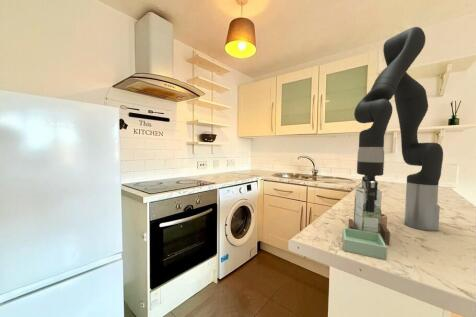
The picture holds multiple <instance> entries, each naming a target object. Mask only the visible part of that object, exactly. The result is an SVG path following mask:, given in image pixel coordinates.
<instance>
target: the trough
mask: <svg viewBox="0 0 476 317" xmlns="http://www.w3.org/2000/svg"><path fill="white" fill-rule="evenodd" d="M342 245H343V252H346V253H347V252H348V253H354V254H358V255H362V256H367V257H371V258H377V259H382V260H387V256H388V254H387V253H388V247H387V245H385V243H384V241H383V239H382V238H381V236H380V234H379V233H373V232H367V231H361V230H355V229H348V228H347V227H342Z"/></svg>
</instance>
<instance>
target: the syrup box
mask: <svg viewBox="0 0 476 317" xmlns="http://www.w3.org/2000/svg"><path fill="white" fill-rule="evenodd" d="M354 190H355V191H354V205H353V206H354V207H353V208H354V209H353V210H354V211H353V223H354V227H355V228H357V229H358V230H361V231H367V232H373V233H379V228H380V212H381V213H382V211H381V210H382V197H383V191H382V190H380V189H378V188H377V200H375V203H374V212H373V213H371V212H367V211H366V193H365V191H366V190H367V189H366V190H364V187H362V186H360V187H359V186H356V187H355V189H354ZM369 196H373V195H372V194H369Z"/></svg>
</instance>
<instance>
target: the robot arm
mask: <svg viewBox="0 0 476 317" xmlns="http://www.w3.org/2000/svg"><path fill="white" fill-rule="evenodd" d="M425 34H426V33H425V32H424V30H423V29H422V27H420V26H413V27H411V28H408V29H405V30H404V31H402V32H400V33H398V34H396V35H394V36H392V37H390V38H388V39H386V40H385V42H384V43H383V50H382V51H383V58H384V61H385V65H386V67H385V68H384V69H383V70H382V71H381V72H380V73H379V74H378V75H377V77H376V79H375V80H374V82H373V84H372V86H371V88H370V90H369V91H368V92H367V93H366V94H365V96H364V97H363V98H362V99H361V100H360V101H359V102H358V103H357V105H356V106H355V109H354V113H353V114H354V115H353V116H354V119H355V121H356V122H358V123H359V124H369V123H372V125H371V126H370V127H369V128H366V129H364V130H361V131H360V132H359V135H358V136H359V137H358V149H357V150H358V151H357V156H356V157H357V161H356V174H358V175H361V176H362V177H361V178H362V179H361V187H364V190H366V189H367V190H366V191H365V193H366V211H367V212H371V213H373V212H374V203H375V200H377V189H378V185H379V182H378V181H377V180H376V176H379V177H380V176H381V177H382V176H383V175H384V171H385V169H384V167H385V150H384V148H385V135H386V132H387V128H388V126H389V122H390V120H391V117H392V115H393V105H392V103H391V101H390V100H391V99H392V98H393V97H394V103H395V104H394V105H395V110H396V113H397V116H398V117H397V119H398V123H399V124H398V125H399V130H400V141H401V142H400V143H401V155H402V158H403V161H404V162H405V164H407V165H409V166H416V167H417V166H418V167H421V169H420V171H418V172H416V173H412V174H408V175H407V176H406V186H405V187H406V188H405V206H404V207H405V208H404V225H406V226H408V227H410V228H414V229H417V230H423V231H438V232H439V228H440V210H441V206H440V205H439V204H438V201H439V200H438V198H439V196H438V195H439V182H440V178H441V176H442V170H443V169H442V167H443V160H444V150H443V147H442V145H441V144H439V143H438V142H419V140H418V130H419V128H420V126H421V123H422V122H423V120H424V118H425V117H426V114H427V112H428V109H429V102H428V95H427V91H426V88H425V87H424V86H423V85H422V84H421V83H419V81H417V80H416V79H414V78H413V77H412V76H411V75H410V74H409V73H408V72H407V71H408V70H409V68H410V67H411V66H412V64H413V63H414V61H415V60H416V59H417V58H418V56H419V55H420V54H421V52H422V50H423V49H424V47H425V45H426V35H425ZM369 194H372V195H373V196H369Z"/></svg>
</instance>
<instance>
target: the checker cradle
mask: <svg viewBox="0 0 476 317" xmlns="http://www.w3.org/2000/svg"><path fill="white" fill-rule="evenodd" d="M347 227H348V229H355V228H354V219H351V218H348V226H347ZM380 234H381V236H382V239H383V241H384V243H385V245H386V246H390V241H391V240H390V238H391V232H390V230H389V228H388V226H387V227H386V226H385V225H384V224H381V223H380Z"/></svg>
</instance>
